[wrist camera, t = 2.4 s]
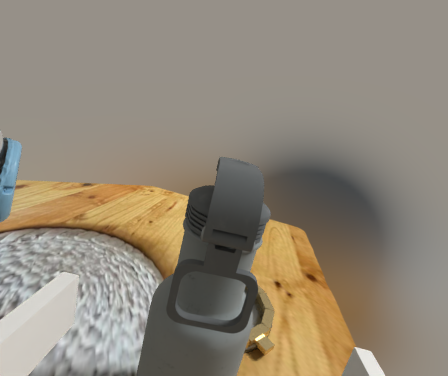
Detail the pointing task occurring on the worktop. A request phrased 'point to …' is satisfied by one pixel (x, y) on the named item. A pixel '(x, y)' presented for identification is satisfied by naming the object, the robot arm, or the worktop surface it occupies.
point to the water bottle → (210, 280)
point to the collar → (261, 323)
